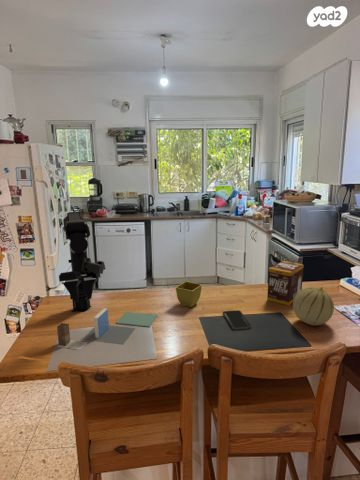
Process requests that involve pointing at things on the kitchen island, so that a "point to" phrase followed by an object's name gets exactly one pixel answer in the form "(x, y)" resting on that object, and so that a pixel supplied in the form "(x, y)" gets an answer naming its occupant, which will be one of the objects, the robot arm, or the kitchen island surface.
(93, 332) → the mat
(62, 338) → the upright brown pillar
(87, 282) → the robot arm
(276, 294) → the supplement box
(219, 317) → the kitchen island surface
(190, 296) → the flower pot
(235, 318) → the phone
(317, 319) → the cantaloupe
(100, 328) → the tile
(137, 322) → the board
